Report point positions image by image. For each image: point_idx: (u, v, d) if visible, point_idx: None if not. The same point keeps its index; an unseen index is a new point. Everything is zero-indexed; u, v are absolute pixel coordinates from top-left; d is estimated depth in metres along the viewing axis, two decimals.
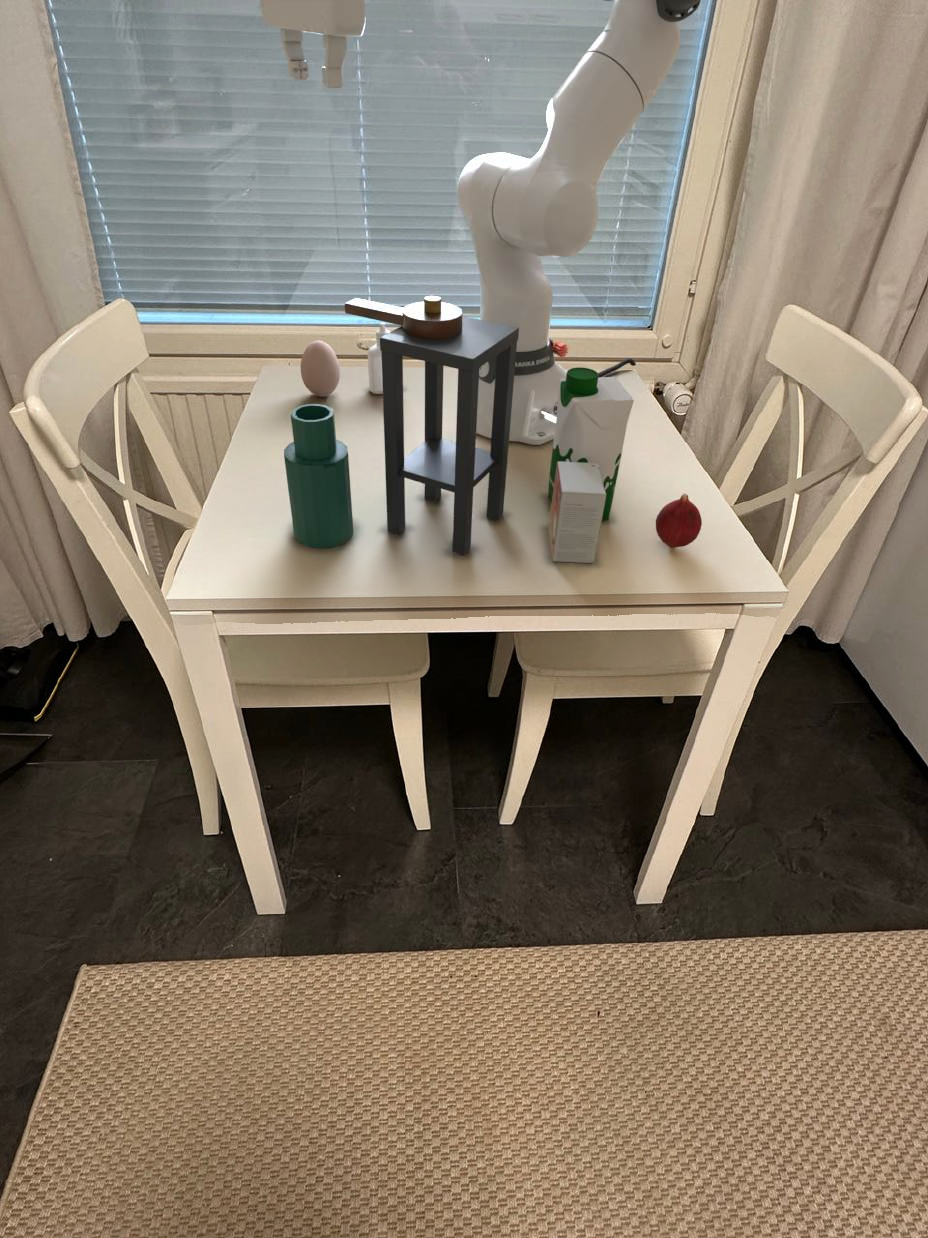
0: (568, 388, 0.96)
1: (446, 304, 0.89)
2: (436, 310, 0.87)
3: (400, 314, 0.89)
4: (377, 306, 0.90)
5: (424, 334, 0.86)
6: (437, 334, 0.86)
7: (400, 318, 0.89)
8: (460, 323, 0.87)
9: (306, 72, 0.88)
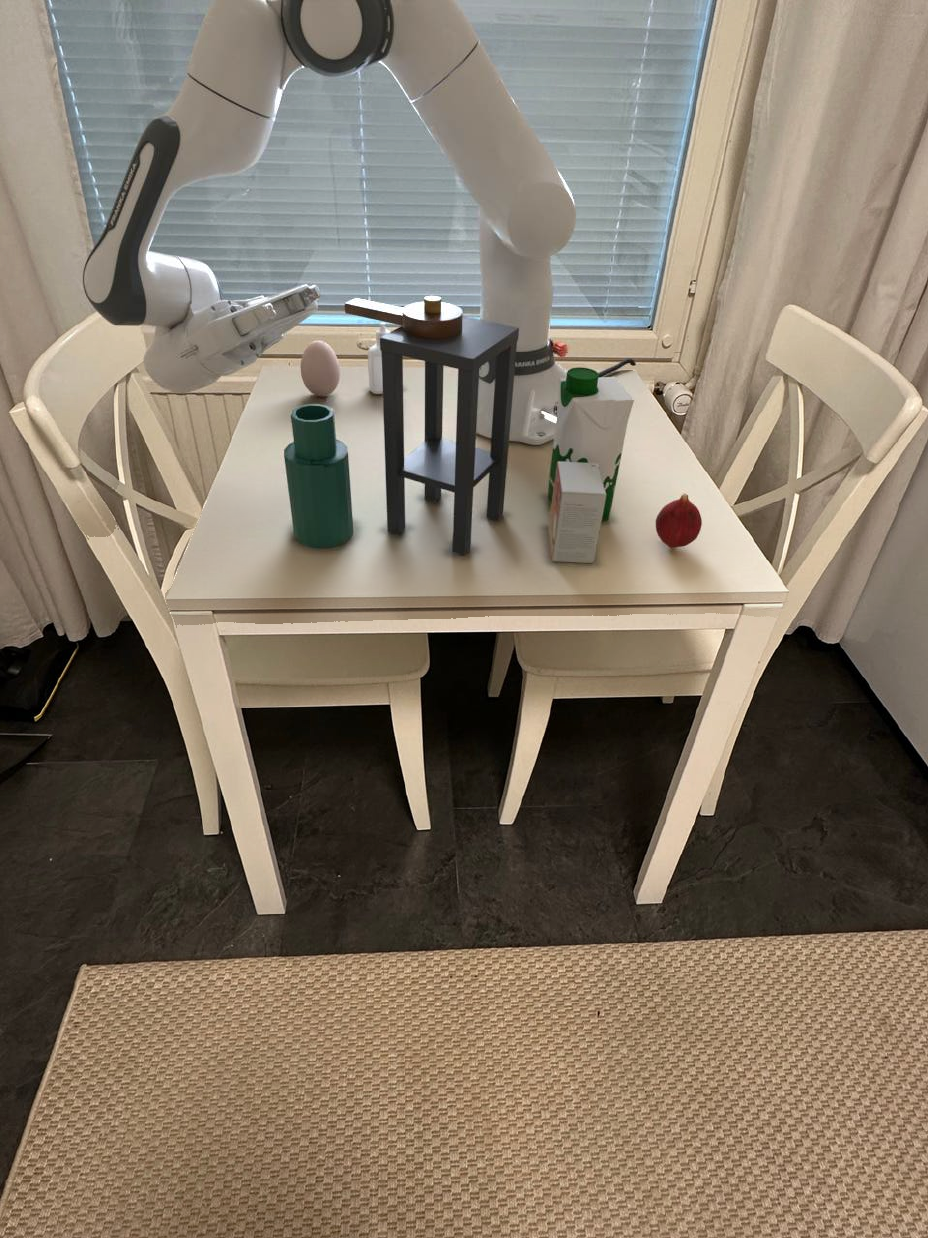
0: (568, 388, 0.96)
1: (446, 304, 0.89)
2: (436, 310, 0.87)
3: (400, 314, 0.89)
4: (377, 306, 0.90)
5: (424, 334, 0.86)
6: (437, 334, 0.86)
7: (400, 318, 0.89)
8: (460, 323, 0.87)
9: (307, 289, 0.99)
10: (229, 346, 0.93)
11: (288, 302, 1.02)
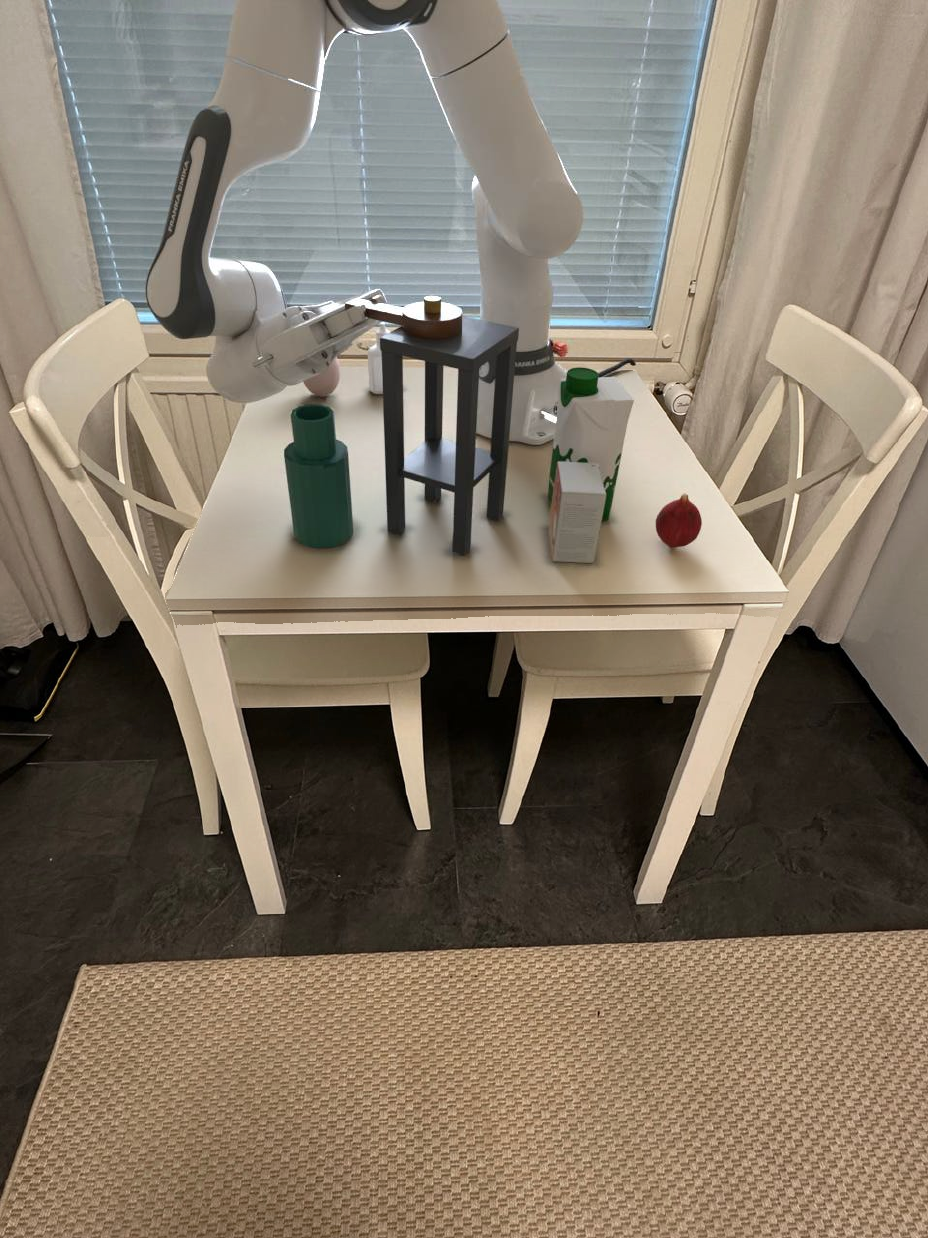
0: (568, 388, 0.96)
1: (446, 304, 0.89)
2: (436, 310, 0.87)
3: (400, 314, 0.89)
4: (377, 306, 0.90)
5: (424, 334, 0.86)
6: (437, 334, 0.86)
7: (400, 318, 0.88)
8: (460, 323, 0.87)
9: (372, 299, 0.92)
10: (307, 355, 0.88)
11: None
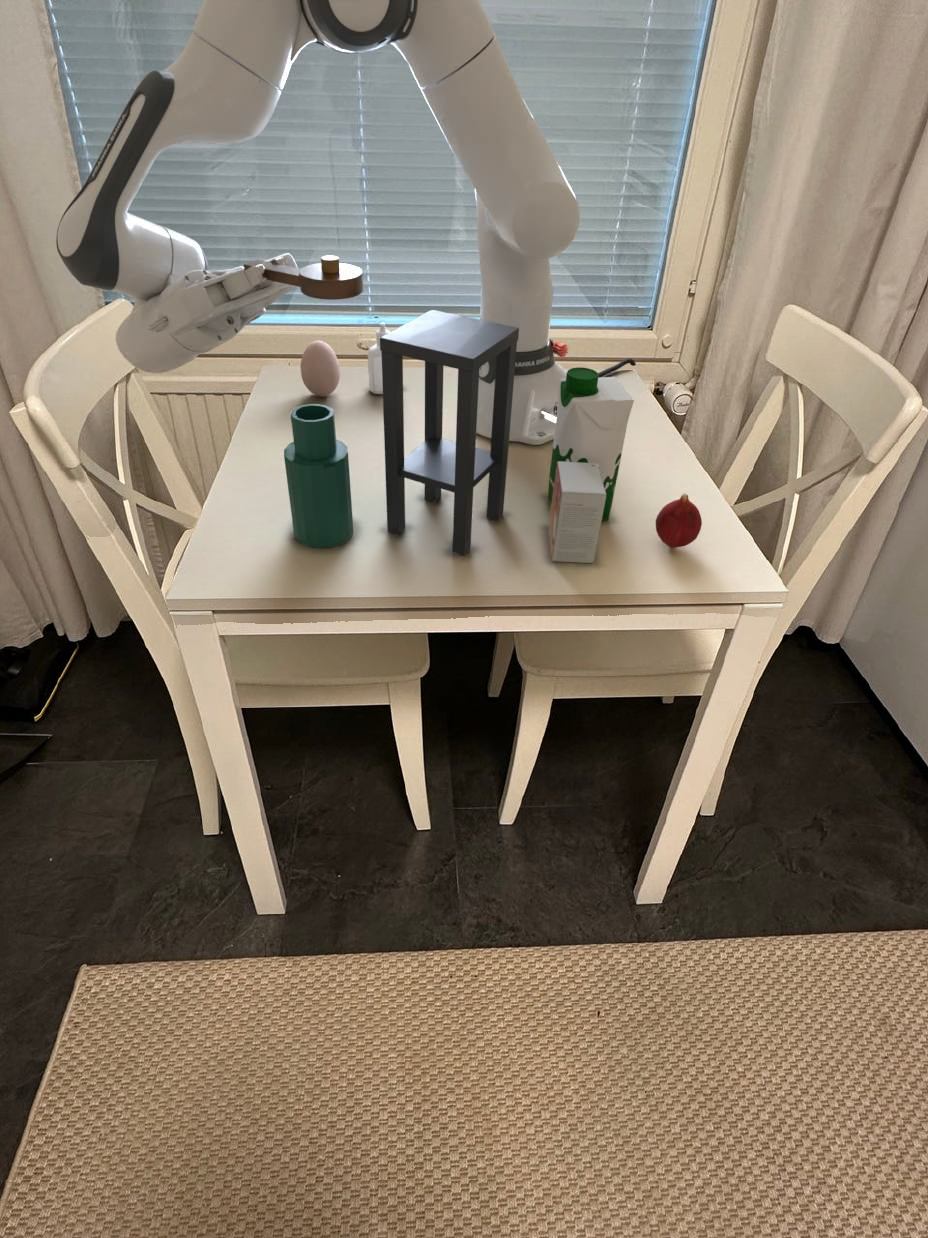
0: (568, 388, 0.96)
1: (347, 265, 0.86)
2: (333, 270, 0.83)
3: (298, 275, 0.85)
4: (276, 267, 0.87)
5: (320, 295, 0.83)
6: (333, 295, 0.83)
7: (298, 279, 0.85)
8: (359, 284, 0.84)
9: (273, 261, 0.89)
10: (201, 317, 0.85)
11: None
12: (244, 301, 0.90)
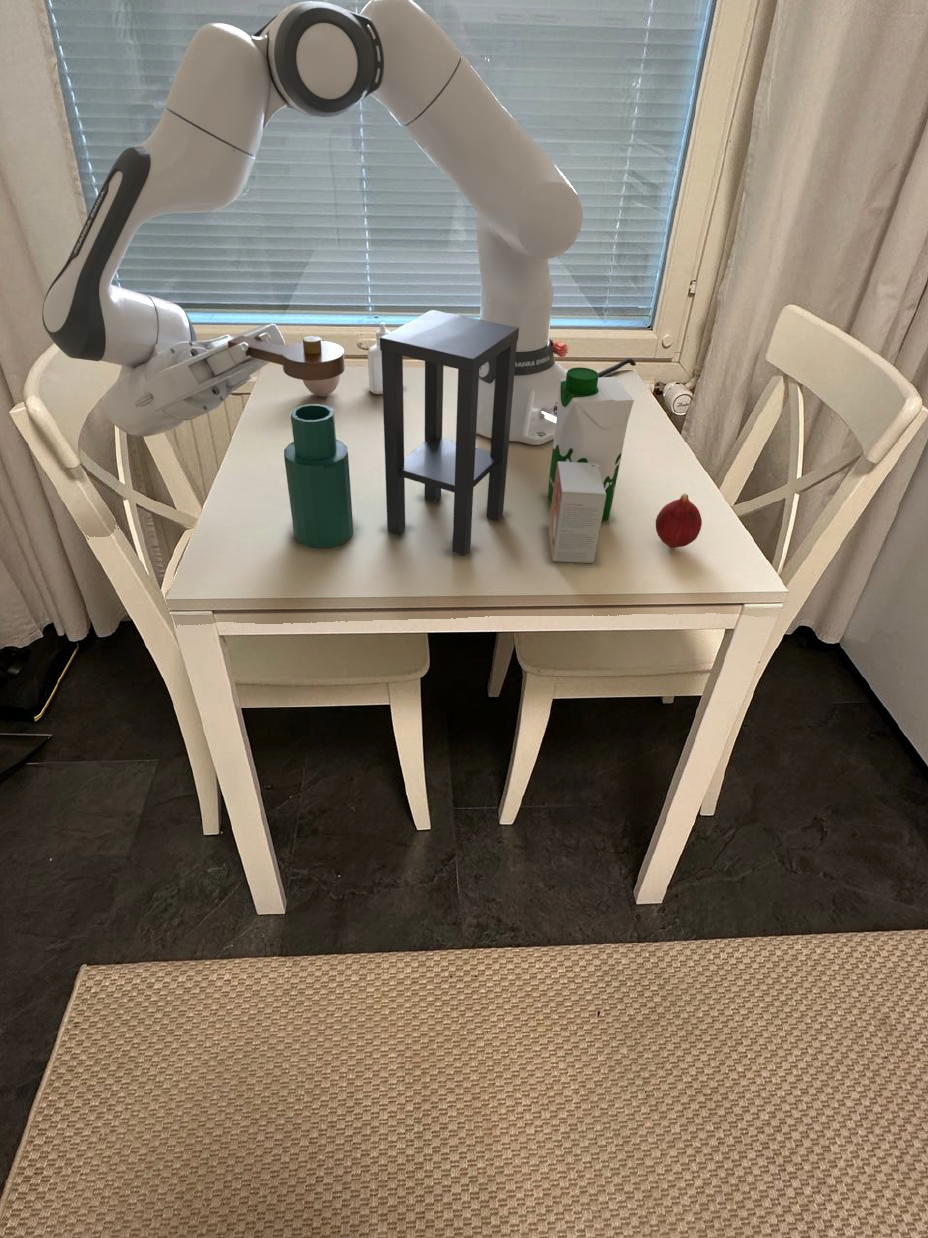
0: (568, 388, 0.96)
1: (329, 343, 0.87)
2: (315, 351, 0.85)
3: (281, 354, 0.87)
4: (260, 345, 0.88)
5: (302, 376, 0.84)
6: (315, 376, 0.84)
7: (281, 358, 0.87)
8: (340, 364, 0.85)
9: (257, 337, 0.90)
10: (185, 395, 0.86)
11: None
12: (228, 376, 0.91)
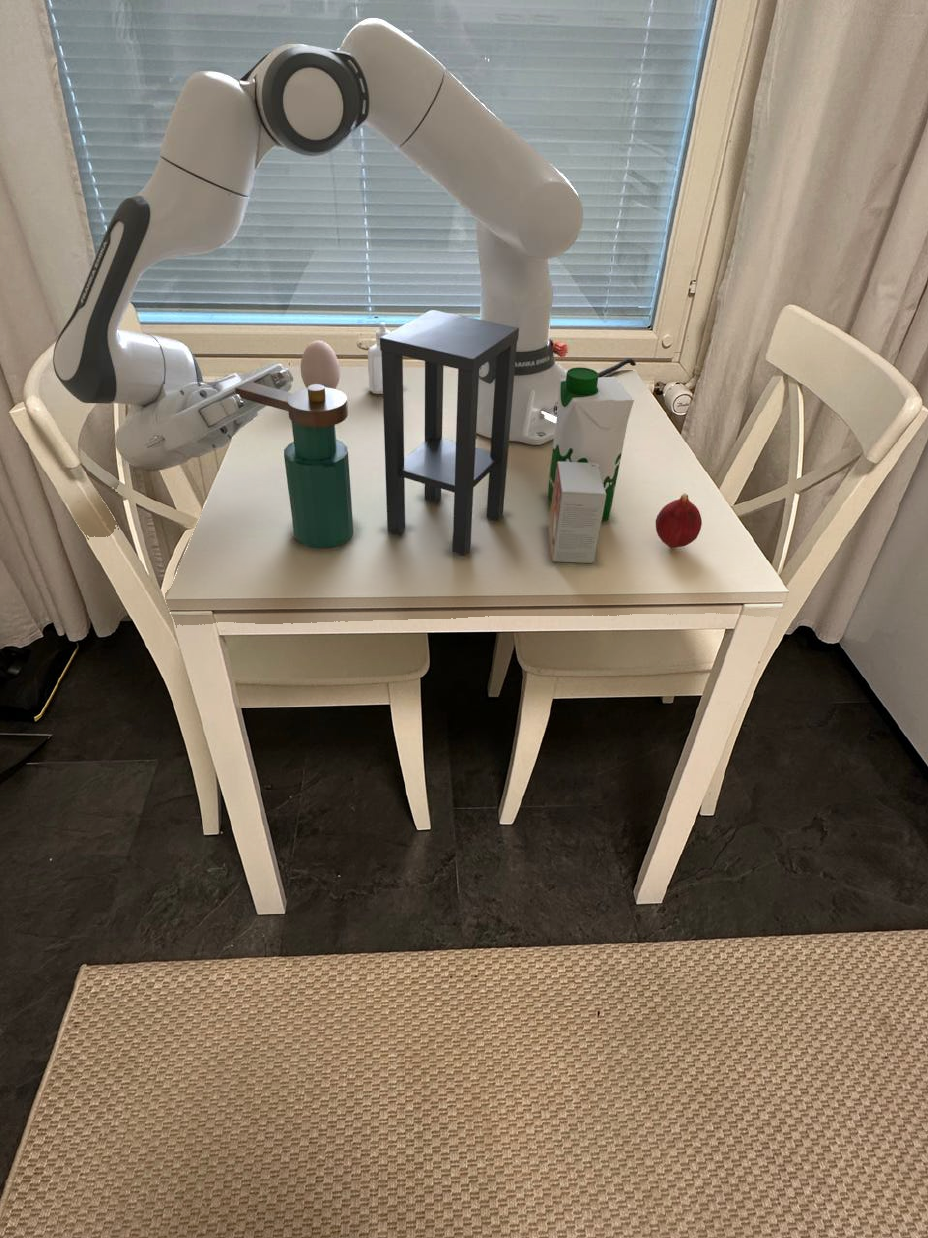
0: (568, 388, 0.96)
1: (333, 390, 0.91)
2: (319, 399, 0.88)
3: (286, 401, 0.90)
4: (266, 391, 0.92)
5: (306, 423, 0.87)
6: (319, 423, 0.87)
7: (286, 405, 0.90)
8: (344, 411, 0.89)
9: (278, 373, 0.95)
10: (196, 439, 0.90)
11: (260, 384, 0.98)
12: (236, 417, 0.95)
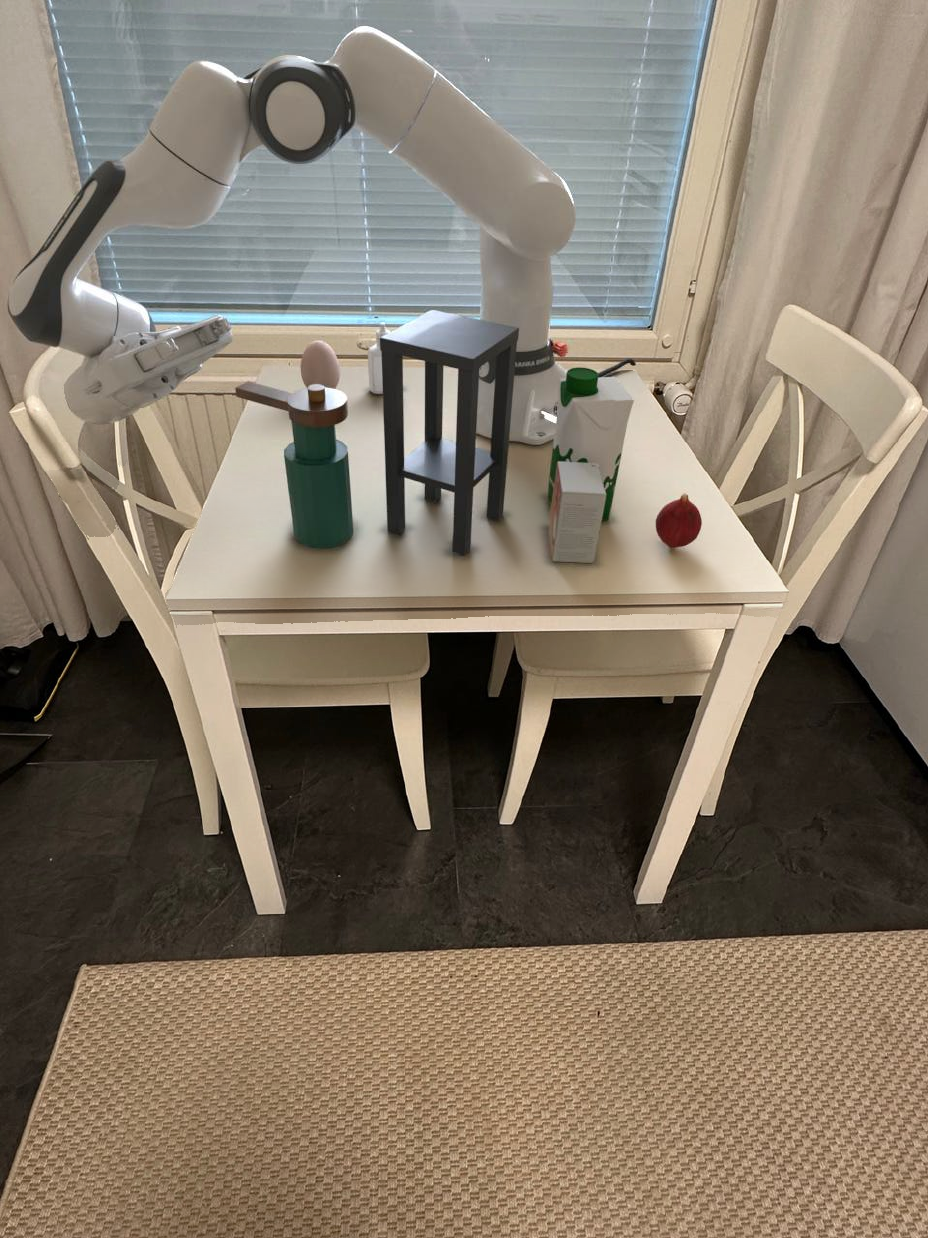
0: (568, 388, 0.96)
1: (333, 390, 0.91)
2: (319, 399, 0.88)
3: (286, 401, 0.90)
4: (266, 391, 0.92)
5: (306, 423, 0.87)
6: (319, 423, 0.87)
7: (286, 405, 0.90)
8: (344, 411, 0.89)
9: (215, 321, 0.97)
10: (131, 383, 0.91)
11: (199, 334, 1.00)
12: (174, 364, 0.96)
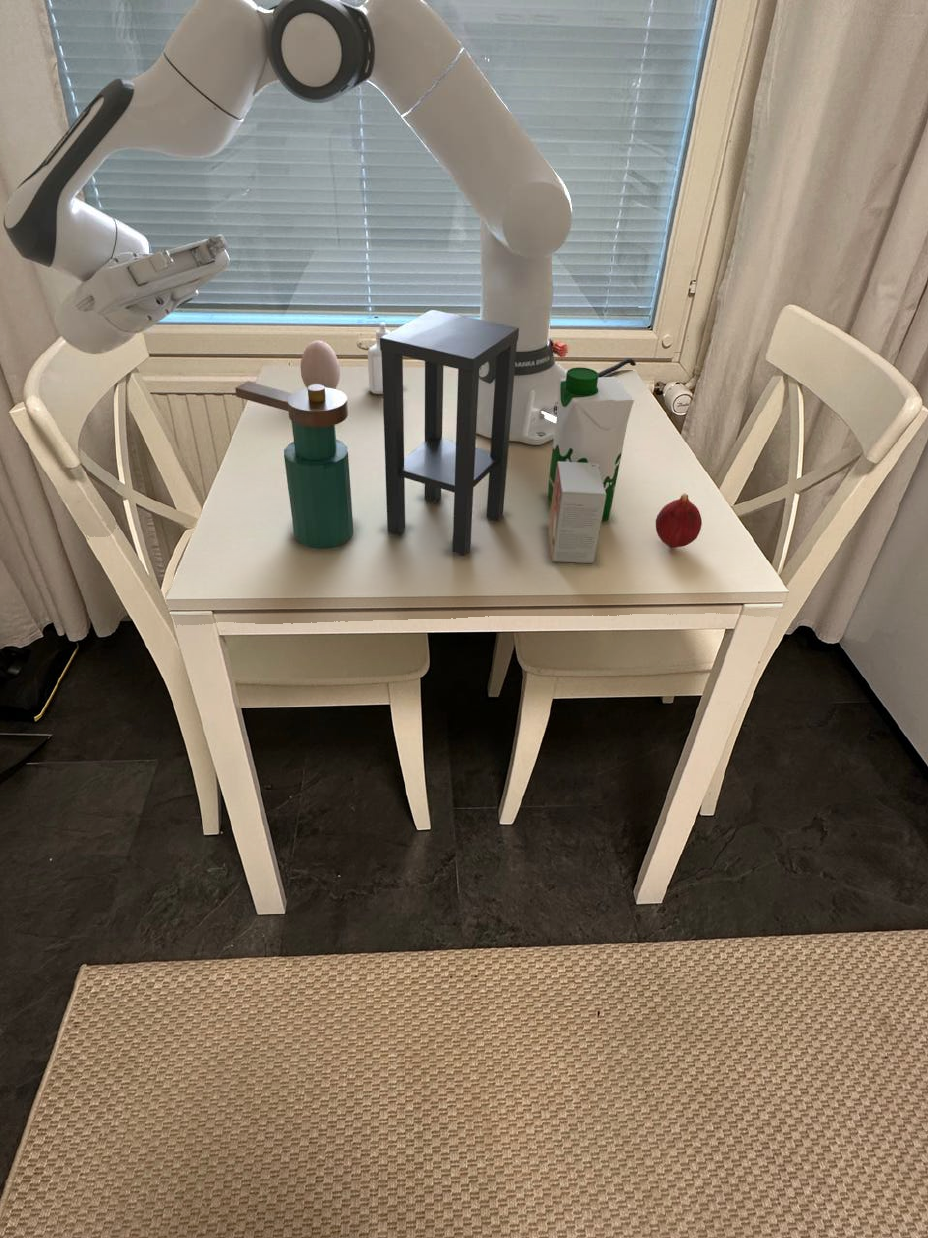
0: (568, 388, 0.96)
1: (333, 390, 0.91)
2: (319, 399, 0.88)
3: (286, 401, 0.90)
4: (266, 391, 0.92)
5: (306, 423, 0.87)
6: (319, 423, 0.87)
7: (286, 405, 0.90)
8: (344, 411, 0.89)
9: (211, 238, 0.94)
10: (124, 295, 0.89)
11: (195, 253, 0.97)
12: (169, 281, 0.94)
